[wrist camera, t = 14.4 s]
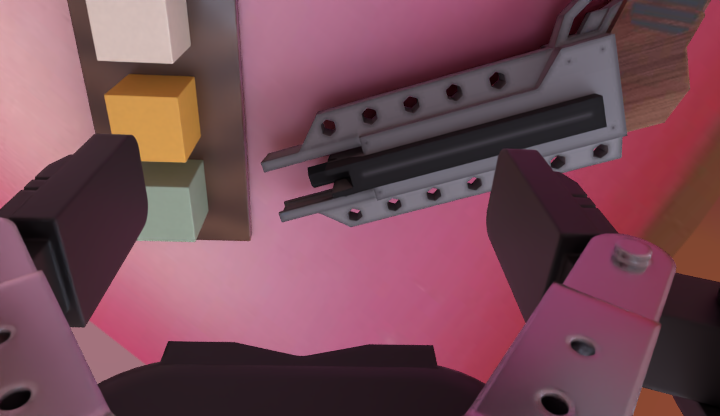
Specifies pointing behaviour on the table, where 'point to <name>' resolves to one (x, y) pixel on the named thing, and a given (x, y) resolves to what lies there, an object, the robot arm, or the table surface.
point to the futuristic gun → (501, 114)
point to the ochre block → (156, 115)
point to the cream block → (139, 30)
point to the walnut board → (214, 99)
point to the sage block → (174, 200)
